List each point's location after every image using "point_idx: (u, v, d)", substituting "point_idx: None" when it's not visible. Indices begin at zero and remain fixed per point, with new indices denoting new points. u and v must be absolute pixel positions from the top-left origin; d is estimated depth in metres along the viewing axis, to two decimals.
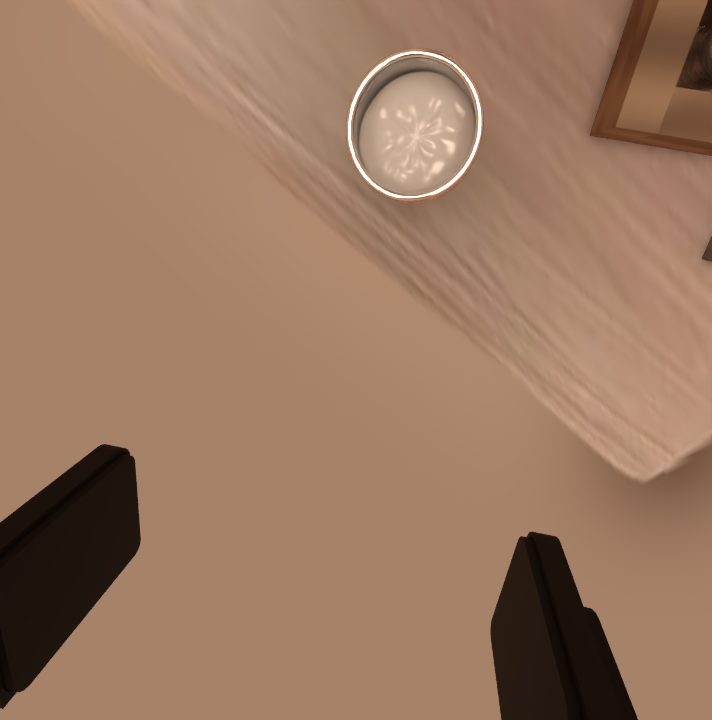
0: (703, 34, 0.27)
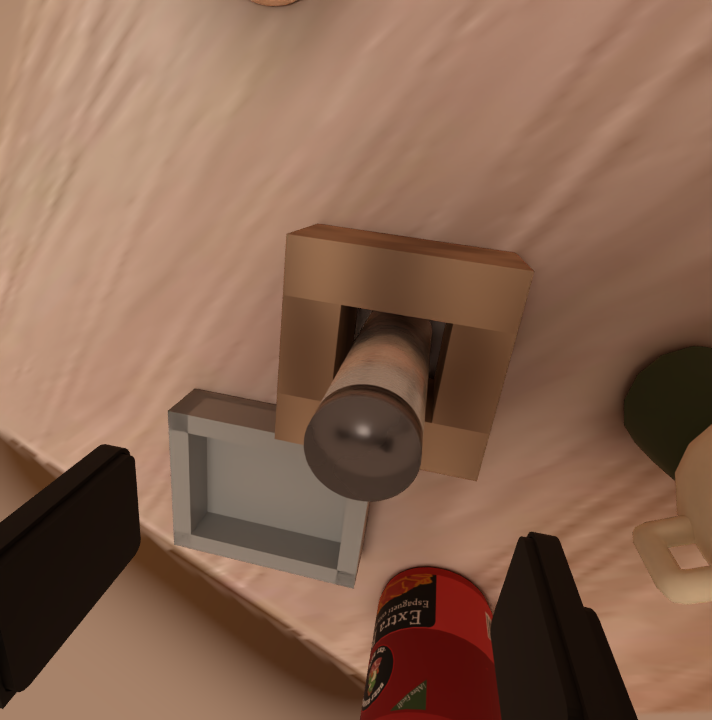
0: (407, 327, 0.20)
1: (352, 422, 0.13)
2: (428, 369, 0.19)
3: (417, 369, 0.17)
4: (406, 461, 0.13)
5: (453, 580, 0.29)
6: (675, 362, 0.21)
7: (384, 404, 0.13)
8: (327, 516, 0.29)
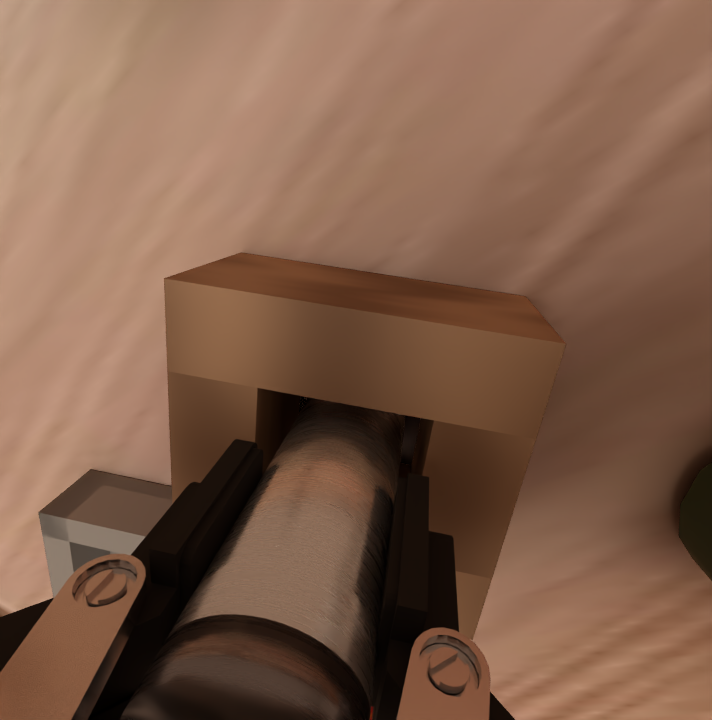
0: (363, 419, 0.13)
1: None
2: (395, 492, 0.12)
3: (370, 521, 0.10)
4: None
5: None
6: None
7: (273, 699, 0.06)
8: None
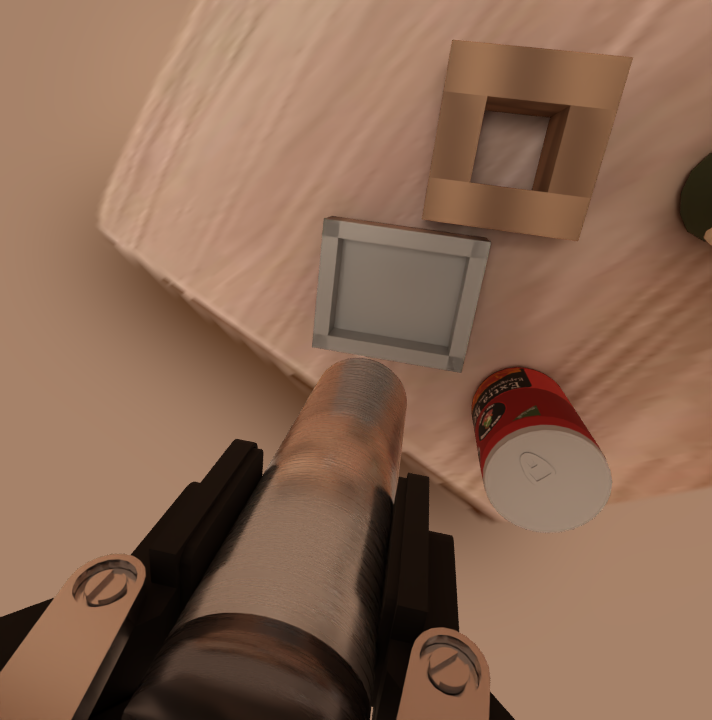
0: (363, 418, 0.13)
1: (211, 719, 0.06)
2: (395, 491, 0.12)
3: (371, 520, 0.10)
4: None
5: (537, 371, 0.36)
6: None
7: (274, 697, 0.06)
8: (436, 322, 0.36)
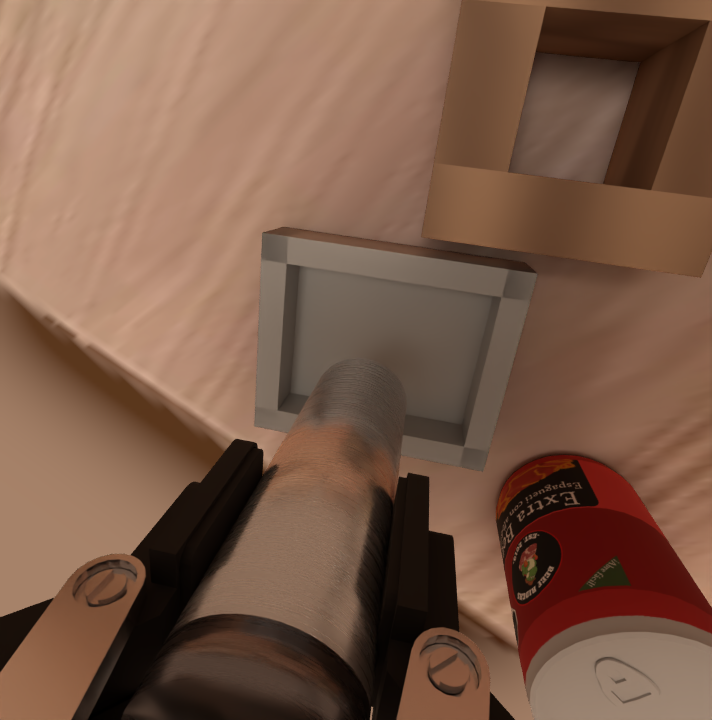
0: (363, 419, 0.13)
1: None
2: (395, 491, 0.12)
3: (370, 521, 0.10)
4: None
5: (599, 465, 0.24)
6: None
7: (273, 699, 0.06)
8: (444, 388, 0.24)
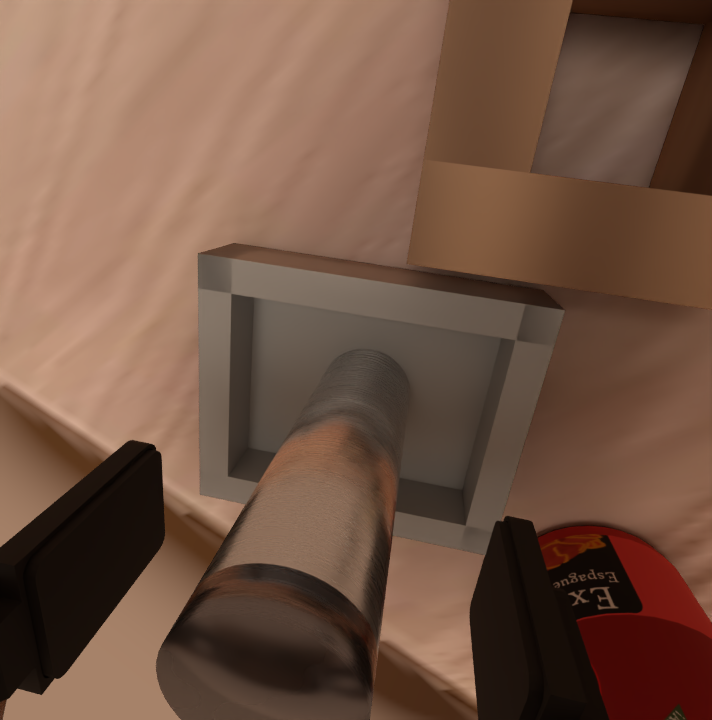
0: (369, 403, 0.14)
1: (238, 651, 0.07)
2: (399, 470, 0.13)
3: (377, 492, 0.10)
4: (342, 718, 0.07)
5: (634, 543, 0.19)
6: None
7: (294, 629, 0.07)
8: (439, 446, 0.19)
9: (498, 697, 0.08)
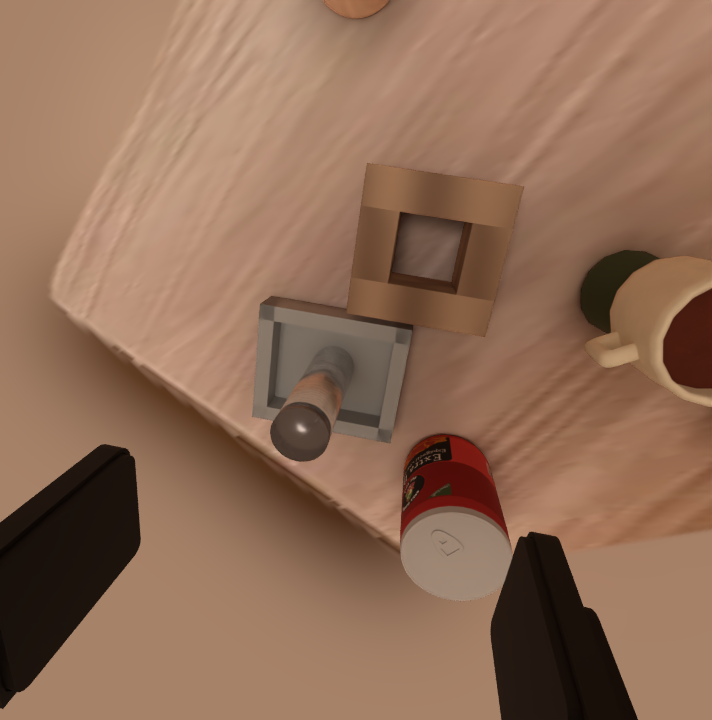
0: (333, 367, 0.34)
1: (294, 420, 0.27)
2: (344, 392, 0.33)
3: (333, 393, 0.31)
4: (321, 440, 0.27)
5: (461, 440, 0.39)
6: (612, 259, 0.32)
7: (309, 412, 0.27)
8: (369, 394, 0.39)
9: None
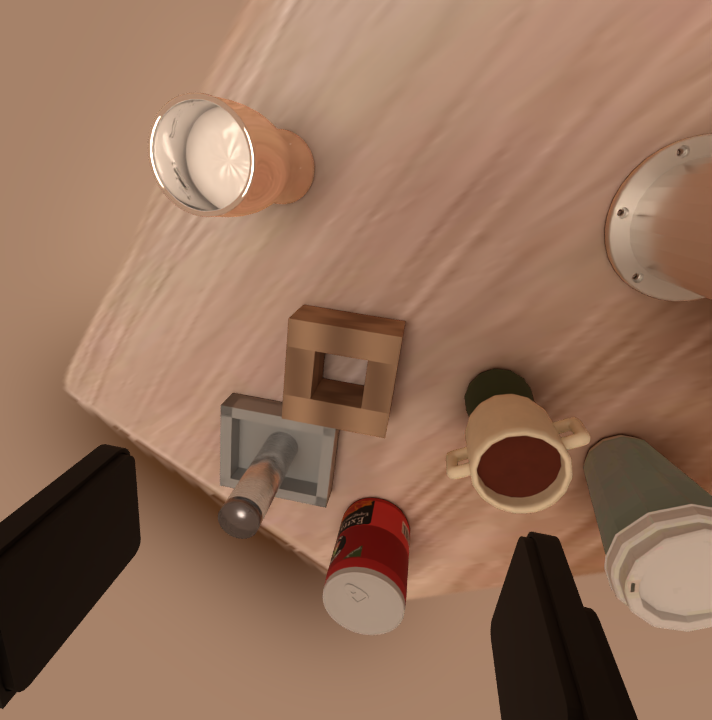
0: (274, 456, 0.44)
1: (234, 511, 0.38)
2: (281, 476, 0.44)
3: (269, 482, 0.41)
4: (253, 524, 0.38)
5: (384, 503, 0.50)
6: (483, 377, 0.42)
7: (243, 506, 0.37)
8: (310, 467, 0.50)
9: None
